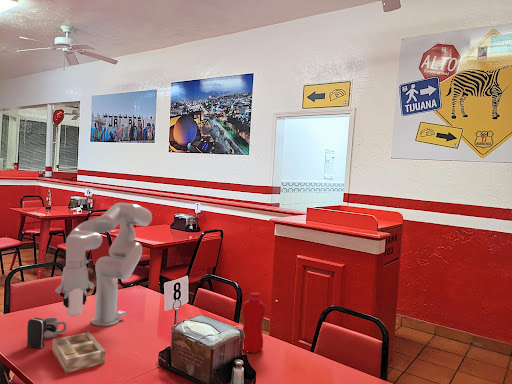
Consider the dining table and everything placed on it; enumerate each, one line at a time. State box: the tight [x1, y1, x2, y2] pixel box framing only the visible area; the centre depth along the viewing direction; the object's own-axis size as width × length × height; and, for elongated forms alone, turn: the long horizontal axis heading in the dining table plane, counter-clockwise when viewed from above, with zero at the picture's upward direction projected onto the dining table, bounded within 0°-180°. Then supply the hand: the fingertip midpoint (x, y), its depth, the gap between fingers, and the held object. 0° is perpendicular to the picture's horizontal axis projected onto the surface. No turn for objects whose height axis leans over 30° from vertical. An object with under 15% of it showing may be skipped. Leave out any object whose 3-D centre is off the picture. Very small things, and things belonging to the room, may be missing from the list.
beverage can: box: [66, 288, 84, 317], centre depth 173 cm, size 6×6×12 cm
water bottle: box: [241, 292, 266, 354], centre depth 178 cm, size 9×11×25 cm
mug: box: [43, 317, 67, 339], centre depth 178 cm, size 10×7×7 cm
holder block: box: [51, 331, 106, 374], centre depth 159 cm, size 14×20×5 cm
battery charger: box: [26, 317, 47, 349], centre depth 166 cm, size 7×4×11 cm, turn 74°
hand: (74, 304), depth 173 cm, fingers closed on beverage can, 6 cm apart
